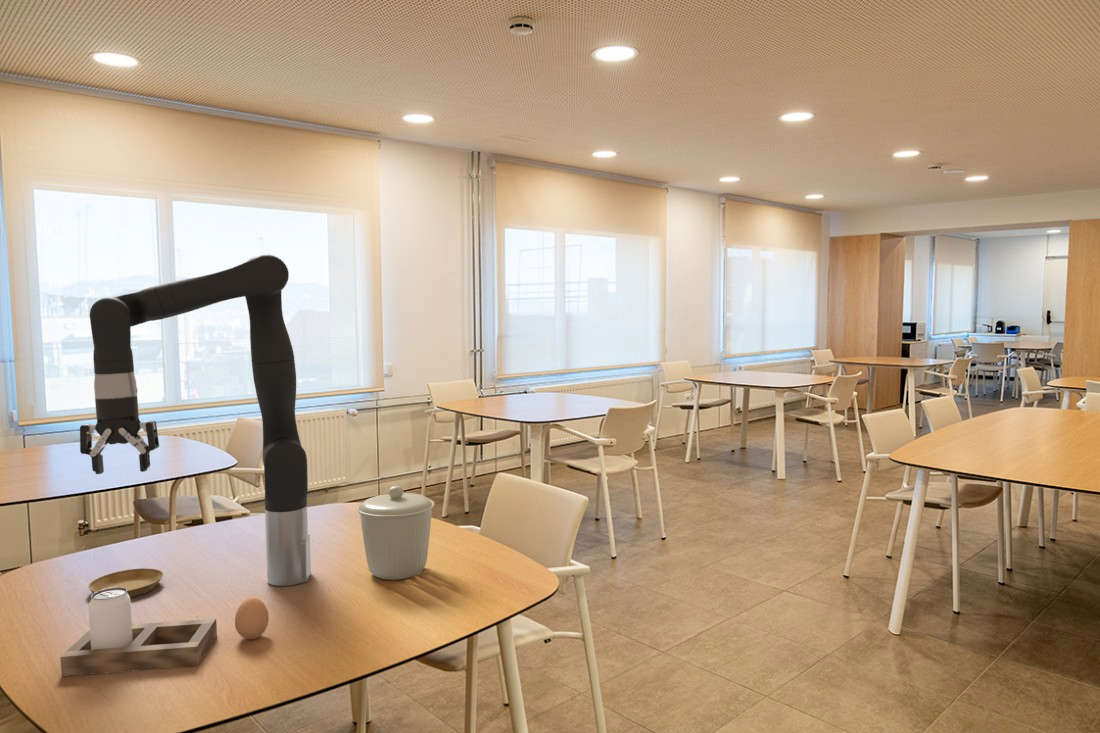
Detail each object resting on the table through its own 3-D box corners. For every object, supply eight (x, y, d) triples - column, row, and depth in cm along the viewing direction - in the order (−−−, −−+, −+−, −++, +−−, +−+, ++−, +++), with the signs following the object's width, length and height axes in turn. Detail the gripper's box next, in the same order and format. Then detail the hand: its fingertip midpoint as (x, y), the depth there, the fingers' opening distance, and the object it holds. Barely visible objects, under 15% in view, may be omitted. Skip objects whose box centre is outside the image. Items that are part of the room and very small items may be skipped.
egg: (258, 646, 137) (256, 605, 136) (229, 643, 138) (227, 603, 137) (275, 632, 143) (274, 592, 142) (247, 630, 144) (245, 591, 143)
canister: (381, 593, 162) (379, 499, 161) (345, 571, 176) (342, 485, 174) (450, 573, 174) (448, 486, 173) (411, 555, 188) (409, 474, 186)
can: (103, 669, 128) (99, 602, 127) (84, 660, 132) (81, 595, 131) (140, 654, 134) (137, 590, 133) (121, 646, 137) (118, 583, 136)
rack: (216, 636, 141) (216, 618, 141) (197, 665, 129) (196, 646, 129) (93, 645, 138) (92, 627, 137) (61, 676, 126) (60, 656, 125)
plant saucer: (131, 605, 157) (131, 594, 157) (72, 601, 159) (71, 589, 159) (178, 581, 171) (177, 570, 171) (122, 577, 174) (122, 566, 174)
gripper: (69, 398, 146) (76, 478, 147) (146, 395, 148) (152, 473, 150) (87, 394, 153) (93, 470, 155) (159, 391, 156) (165, 466, 157)
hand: (122, 472), depth 152 cm, fingers open, 8 cm apart
